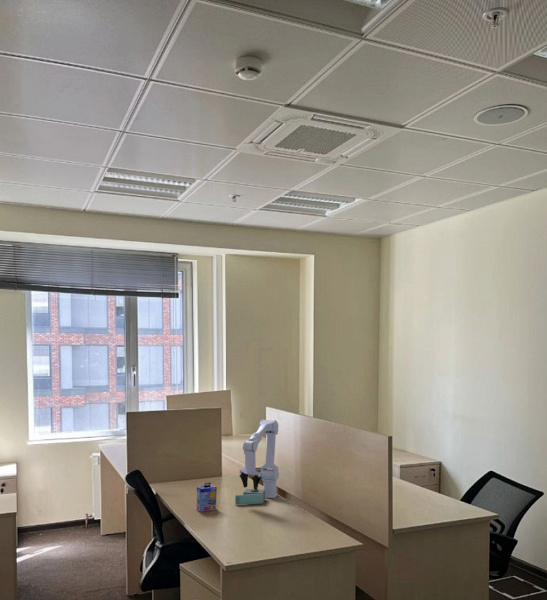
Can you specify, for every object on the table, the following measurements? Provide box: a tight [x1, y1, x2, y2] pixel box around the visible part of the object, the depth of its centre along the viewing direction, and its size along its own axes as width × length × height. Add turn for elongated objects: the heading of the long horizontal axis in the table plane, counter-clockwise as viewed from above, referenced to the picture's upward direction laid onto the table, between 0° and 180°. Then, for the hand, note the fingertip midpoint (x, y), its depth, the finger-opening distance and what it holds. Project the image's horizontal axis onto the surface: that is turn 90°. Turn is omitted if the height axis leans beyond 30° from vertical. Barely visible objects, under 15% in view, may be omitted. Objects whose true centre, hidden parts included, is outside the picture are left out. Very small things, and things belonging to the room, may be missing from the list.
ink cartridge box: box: [196, 482, 218, 513], centre depth 317 cm, size 10×6×14 cm, turn 122°
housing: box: [242, 488, 266, 502], centre depth 333 cm, size 8×11×6 cm
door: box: [234, 494, 265, 506], centre depth 326 cm, size 1×16×5 cm, turn 99°
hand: (250, 488), depth 321 cm, fingers open, 7 cm apart
